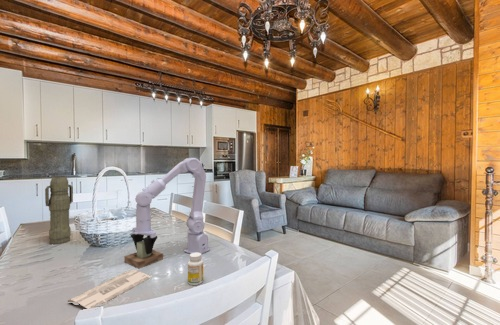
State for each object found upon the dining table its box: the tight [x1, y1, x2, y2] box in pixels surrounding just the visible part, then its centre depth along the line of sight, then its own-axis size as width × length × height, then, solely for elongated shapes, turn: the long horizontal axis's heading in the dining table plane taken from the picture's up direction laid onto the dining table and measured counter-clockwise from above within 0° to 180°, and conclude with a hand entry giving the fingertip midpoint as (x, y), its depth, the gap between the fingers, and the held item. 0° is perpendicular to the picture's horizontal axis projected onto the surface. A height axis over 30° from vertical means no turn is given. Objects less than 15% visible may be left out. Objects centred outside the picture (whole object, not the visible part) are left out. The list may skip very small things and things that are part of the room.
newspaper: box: [67, 269, 152, 310], centre depth 79 cm, size 23×12×2 cm, turn 156°
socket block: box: [124, 249, 164, 270], centre depth 102 cm, size 11×11×2 cm
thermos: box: [44, 175, 74, 245], centre depth 127 cm, size 9×12×35 cm
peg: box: [136, 241, 151, 259], centre depth 102 cm, size 4×4×8 cm
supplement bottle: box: [187, 252, 204, 286], centre depth 83 cm, size 5×5×10 cm
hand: (143, 251), depth 102 cm, fingers open, 7 cm apart
